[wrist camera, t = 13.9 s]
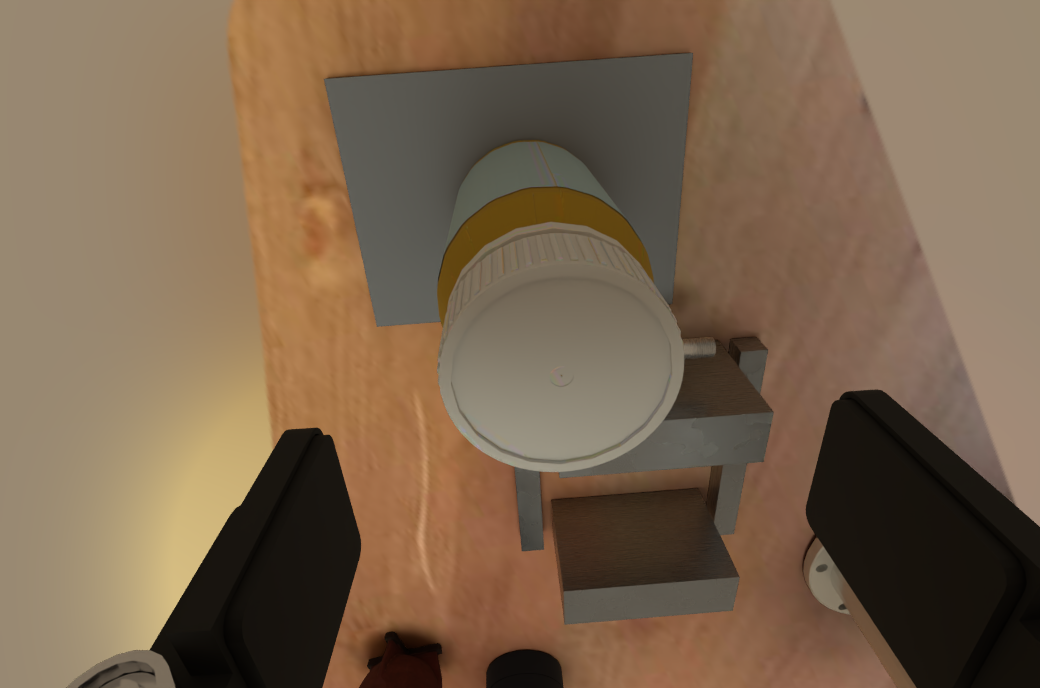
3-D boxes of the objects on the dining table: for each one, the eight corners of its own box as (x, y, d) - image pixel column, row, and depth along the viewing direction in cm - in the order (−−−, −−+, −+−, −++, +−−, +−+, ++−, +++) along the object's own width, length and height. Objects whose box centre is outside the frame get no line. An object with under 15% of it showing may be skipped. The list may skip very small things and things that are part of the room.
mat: (689, 53, 24) (692, 53, 23) (669, 300, 30) (672, 304, 29) (327, 78, 24) (323, 79, 23) (378, 322, 29) (377, 326, 29)
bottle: (450, 139, 25) (401, 249, 11) (602, 135, 25) (725, 237, 12) (461, 281, 28) (434, 490, 15) (595, 276, 28) (684, 478, 15)
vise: (763, 298, 30) (833, 362, 24) (725, 517, 38) (770, 607, 32) (502, 318, 30) (505, 388, 24) (520, 533, 38) (526, 627, 32)
